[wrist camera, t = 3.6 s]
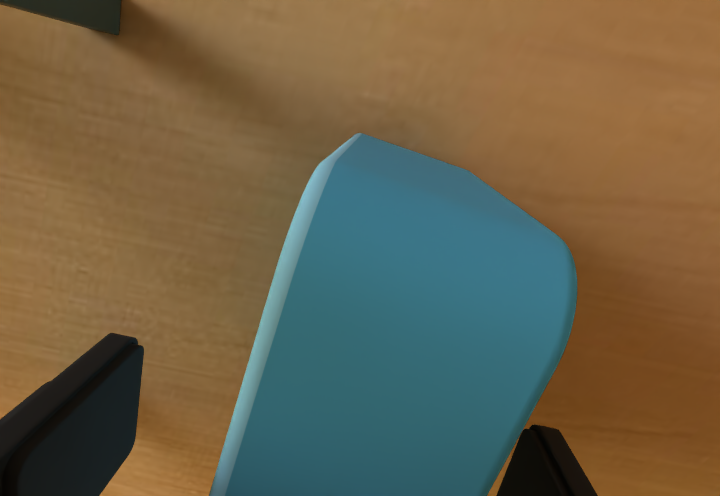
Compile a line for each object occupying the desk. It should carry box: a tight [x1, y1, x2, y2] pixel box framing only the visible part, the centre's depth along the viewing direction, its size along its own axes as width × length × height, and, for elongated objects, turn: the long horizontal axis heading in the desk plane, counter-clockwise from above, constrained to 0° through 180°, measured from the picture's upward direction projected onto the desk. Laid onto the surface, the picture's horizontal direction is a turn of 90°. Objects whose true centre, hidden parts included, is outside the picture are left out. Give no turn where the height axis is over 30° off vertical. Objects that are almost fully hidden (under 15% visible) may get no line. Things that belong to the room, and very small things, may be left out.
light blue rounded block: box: [209, 133, 577, 496], centre depth 14 cm, size 12×4×12 cm, turn 161°
